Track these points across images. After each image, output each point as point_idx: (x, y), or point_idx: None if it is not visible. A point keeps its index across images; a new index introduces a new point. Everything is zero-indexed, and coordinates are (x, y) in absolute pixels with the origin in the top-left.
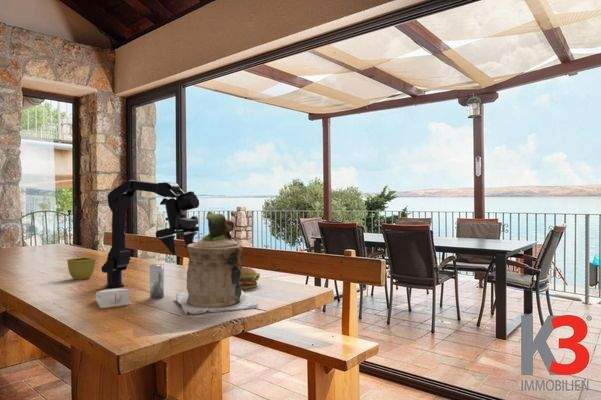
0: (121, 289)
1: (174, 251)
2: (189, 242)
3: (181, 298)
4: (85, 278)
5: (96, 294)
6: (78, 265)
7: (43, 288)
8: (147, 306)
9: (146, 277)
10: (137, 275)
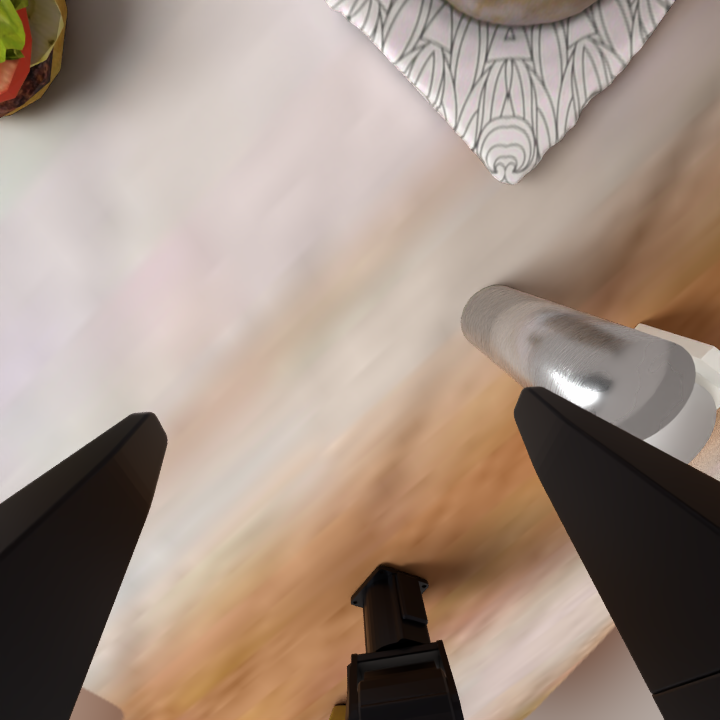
0: None
1: (569, 406)
2: (26, 587)
3: (581, 77)
4: None
5: (696, 453)
6: None
7: (493, 680)
8: (663, 217)
9: (210, 618)
10: (207, 658)
